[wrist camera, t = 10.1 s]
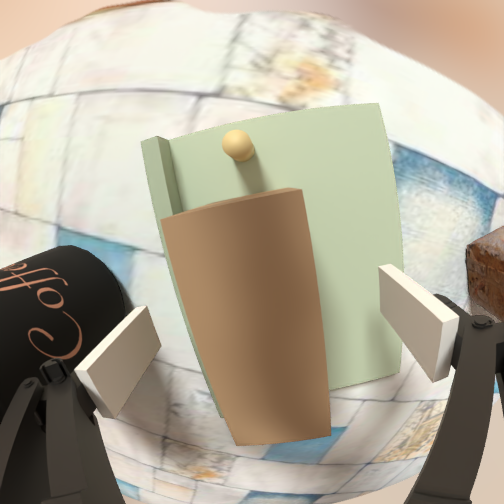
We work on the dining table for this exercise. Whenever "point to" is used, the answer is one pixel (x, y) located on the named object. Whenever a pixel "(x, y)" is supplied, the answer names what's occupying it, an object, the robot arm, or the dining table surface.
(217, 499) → the dining table surface
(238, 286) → the brown box-like piece
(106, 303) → the coffee jar
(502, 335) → the robot arm
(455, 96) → the dining table surface
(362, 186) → the ledge board
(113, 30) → the dining table surface
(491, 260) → the food item
